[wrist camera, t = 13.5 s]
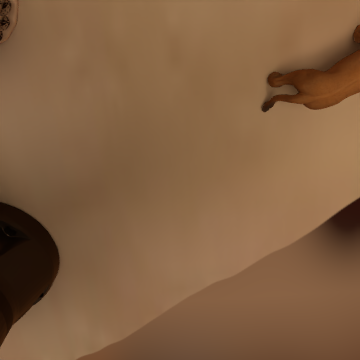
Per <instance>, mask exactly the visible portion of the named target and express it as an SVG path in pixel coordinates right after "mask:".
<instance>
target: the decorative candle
mask: <svg viewBox="0 0 360 360" xmlns="http://www.w3.org/2000/svg"><path fill="white" fill-rule="evenodd" d="M17 15H18V0H0V43H2V42H3V41H5V40H6V39H8V38H9V36H10V34H11V33H12V31H13V29H14V27H15V25H16V23H17Z"/></svg>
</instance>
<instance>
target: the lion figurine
mask: <svg viewBox="0 0 360 360" xmlns="http://www.w3.org/2000/svg"><path fill="white" fill-rule="evenodd" d="M354 39H355V42H357V43H360V25H358V26H357V28H356V30H355V32H354ZM268 83H269V85H270V86H271V87H280V86H282V85H285V84H288V85H293V86H294V87H295V88H296V89H297V90H298V91H299V93H297V94H296V95H276V96H274V97H272V98H271V100H269V101H268V102H266V103H265V104H264V106H263V108H262V111H263V112H266V111H268V110H269V109H270V108H272V107H273V106H274V104H275V102H276V101H285V102H290V103H297V104H303V105H305V106H306V107H307V108H309V109H314V110H317V109H323V108H327V107H330V106H333V105H336V104H338V103H339V102H341V101H342V100H344V99H345V98H347V97H349V96H351V95H354V94H356V93H359V92H360V50H358V51H356V52H354V53H353V54H351V55H349V56H347V57H345V58H343V59H342V60H340V61H339V62H337V63H336V64H335V65H334V66H332V67H331V68H330V69H329V70H328V71H325V72H322V71H319V70H315V69H303V70H297V71H294V72H291V73H288V74H286V75H284V76H282V74H280V73H278V72H273V73H271V74H270V75H269V77H268Z"/></svg>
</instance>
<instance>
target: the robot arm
mask: <svg viewBox="0 0 360 360" xmlns="http://www.w3.org/2000/svg"><path fill="white" fill-rule="evenodd" d="M58 270H59V255H58V251H57V248H56V245H55V243H54V241H53V239H52V238H51V236H50V235H49V233H48V232H47V231H46V230H45V229H44V228H43V227H42V226H41V225H40V224H39V223H38V222H37V221H36V220H35V219H33V218H32V217H30V216H29V215H27V214H26V213H24V212H22V211H20V210H18V209H16V208H14V207H12V206H9V205H6V204H3V203H0V347H1V345H2V343H3V341H4V339H5V338H6V336H7V334H8V332H9V331H10V329H11V327H12V325H13V324H14V323H16V322H17V321H18V320H19V319H20V318H21V317H22V316H23V315H24V314H25V313H26V312H27V311H28V310H29V309H30V308H31V307H32V306H33V305H35V304H36V303H37V302H39V301H40V300H41V299H42V298H43V297H44V296H45V295H46V293H47V292H48V291H49V289H50V287H51V285H52V284H53V282H54V280H55V278H56V276H57V273H58Z"/></svg>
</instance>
